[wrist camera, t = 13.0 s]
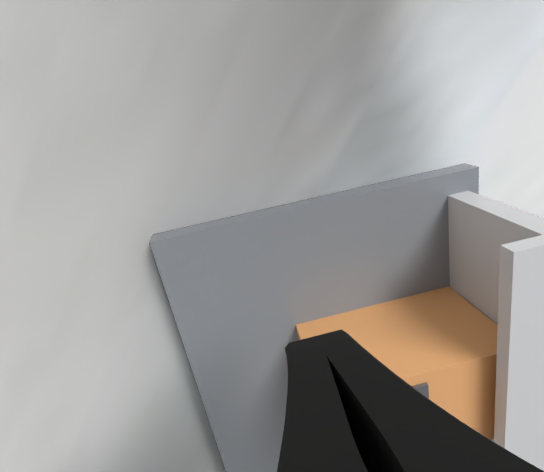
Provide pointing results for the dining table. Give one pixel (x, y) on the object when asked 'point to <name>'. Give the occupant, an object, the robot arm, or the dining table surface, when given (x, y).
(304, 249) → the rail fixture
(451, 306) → the block
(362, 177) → the dining table surface
